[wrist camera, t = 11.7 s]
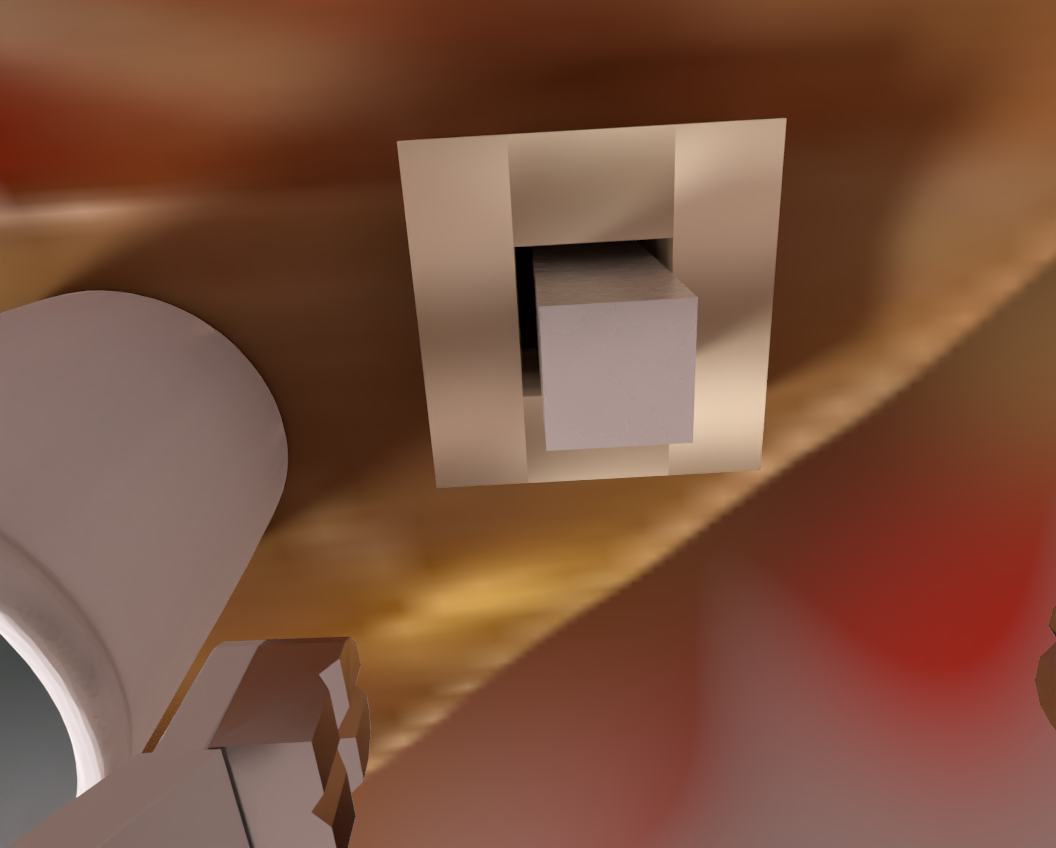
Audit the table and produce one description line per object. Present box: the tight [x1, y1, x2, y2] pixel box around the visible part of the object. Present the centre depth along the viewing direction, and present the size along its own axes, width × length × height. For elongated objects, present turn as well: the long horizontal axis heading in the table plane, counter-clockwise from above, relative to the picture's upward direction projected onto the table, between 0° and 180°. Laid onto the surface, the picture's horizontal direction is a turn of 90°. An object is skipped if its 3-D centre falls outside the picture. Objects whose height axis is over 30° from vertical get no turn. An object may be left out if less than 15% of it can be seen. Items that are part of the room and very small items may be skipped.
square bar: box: [531, 240, 698, 451], centre depth 24 cm, size 4×4×12 cm
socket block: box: [397, 118, 786, 488], centre depth 27 cm, size 12×12×6 cm
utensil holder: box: [0, 290, 288, 848], centre depth 24 cm, size 15×15×18 cm
